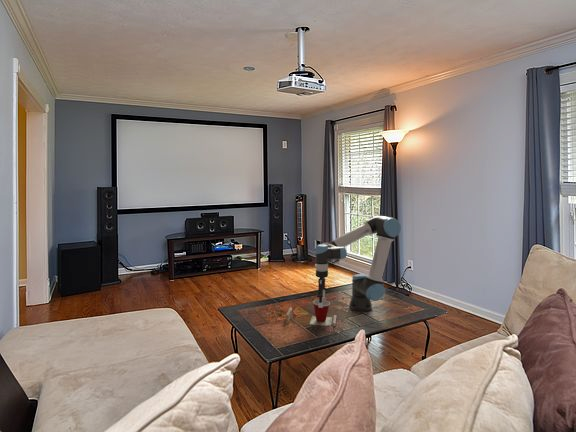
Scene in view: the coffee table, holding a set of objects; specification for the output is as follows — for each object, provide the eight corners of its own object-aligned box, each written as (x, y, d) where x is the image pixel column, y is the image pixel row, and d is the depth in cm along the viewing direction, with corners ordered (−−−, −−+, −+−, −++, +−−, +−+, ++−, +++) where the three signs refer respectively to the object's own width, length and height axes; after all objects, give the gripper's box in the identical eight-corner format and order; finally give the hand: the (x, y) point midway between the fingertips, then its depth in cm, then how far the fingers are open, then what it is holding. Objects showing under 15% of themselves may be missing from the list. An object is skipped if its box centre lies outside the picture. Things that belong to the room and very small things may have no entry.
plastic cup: (329, 324, 229) (329, 305, 228) (311, 323, 231) (311, 304, 230) (330, 318, 239) (331, 299, 238) (313, 316, 242) (313, 298, 240)
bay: (336, 318, 240) (336, 310, 239) (335, 326, 227) (335, 318, 227) (289, 315, 245) (289, 307, 245) (286, 322, 233) (286, 314, 232)
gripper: (317, 264, 245) (317, 296, 247) (313, 275, 220) (313, 310, 223) (329, 265, 243) (329, 297, 246) (326, 275, 219) (326, 311, 221)
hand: (321, 303), depth 234 cm, fingers open, 13 cm apart
